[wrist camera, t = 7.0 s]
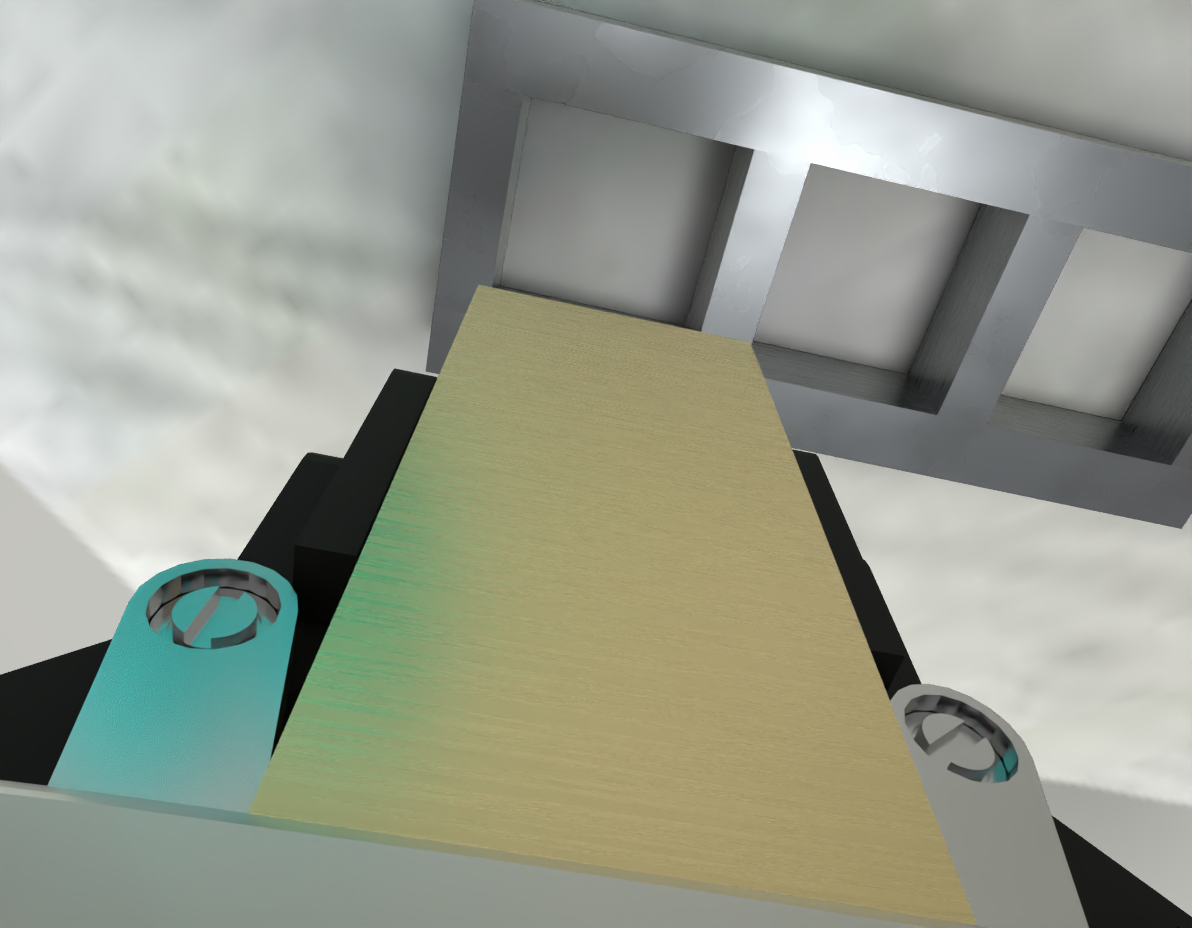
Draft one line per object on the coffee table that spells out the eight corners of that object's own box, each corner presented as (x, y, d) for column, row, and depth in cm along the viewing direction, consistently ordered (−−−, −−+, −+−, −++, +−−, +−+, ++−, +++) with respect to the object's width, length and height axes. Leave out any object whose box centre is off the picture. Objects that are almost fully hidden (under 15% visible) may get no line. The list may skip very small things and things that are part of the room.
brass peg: (749, 342, 13) (982, 942, 5) (679, 561, 14) (761, 1248, 7) (478, 284, 12) (240, 829, 4) (442, 517, 14) (231, 1188, 6)
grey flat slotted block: (1309, 190, 25) (1389, 215, 22) (1132, 480, 30) (1181, 528, 27) (491, -11, 23) (475, -10, 20) (444, 334, 28) (425, 371, 25)
